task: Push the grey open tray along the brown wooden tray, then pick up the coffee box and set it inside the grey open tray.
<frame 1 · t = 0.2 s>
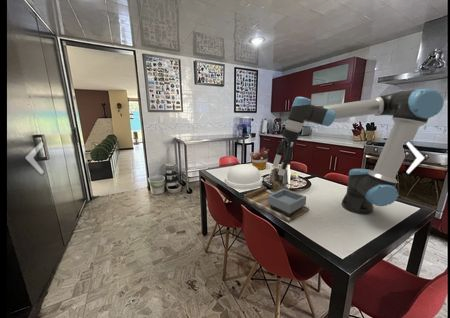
hand: (277, 170, 99), 27 cm above the table, tool tilted 15°, fingers open, 13 cm apart
bucket of meat: (259, 168, 193), on the table
coffee box: (278, 191, 138), on the table
dome cover: (243, 182, 158), on the table
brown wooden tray: (274, 204, 119), on the table
grey open tray: (286, 202, 111), point 5 cm above the table, slide at 0.0 cm
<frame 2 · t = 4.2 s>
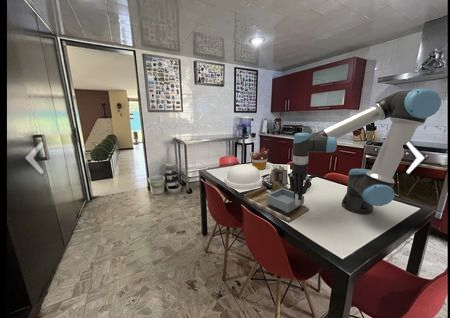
hand: (297, 204, 106), 7 cm above the table, tool pointing down, fingers closed
grey open tray: (284, 201, 112), point 5 cm above the table, slide at 1.3 cm, touching gripper
everything else where it was.
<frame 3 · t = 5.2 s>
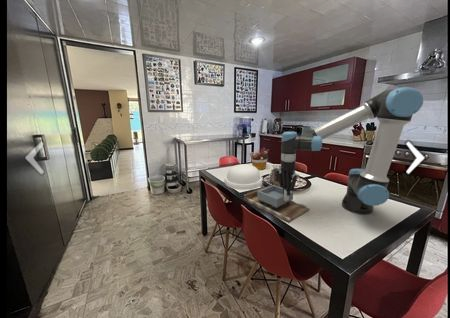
hand: (286, 199, 111), 7 cm above the table, tool pointing down, fingers closed
grey open tray: (274, 197, 118), point 5 cm above the table, slide at 8.5 cm, touching gripper
everything else where it was.
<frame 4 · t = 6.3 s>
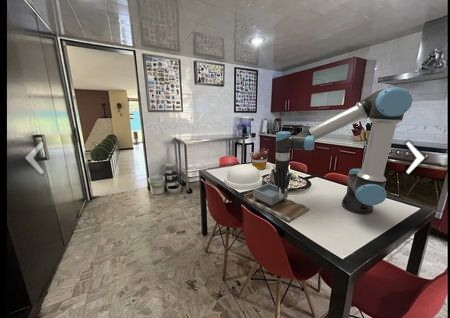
hand: (280, 197, 114), 6 cm above the table, tool pointing down, fingers closed
grey open tray: (270, 195, 121), point 5 cm above the table, slide at 12.2 cm, touching gripper
everything else where it was.
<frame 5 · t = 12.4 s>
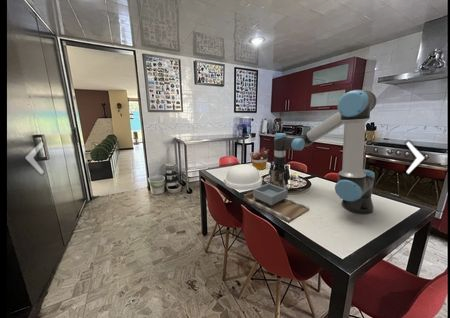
hand: (278, 186, 137), 4 cm above the table, tool pointing down, fingers closed on coffee box, 10 cm apart
coffee box: (278, 191, 138), on the table, touching gripper
grey open tray: (270, 195, 121), point 5 cm above the table, slide at 12.2 cm
everything else where it was.
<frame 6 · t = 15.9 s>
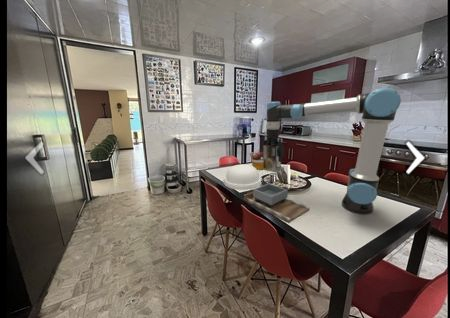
hand: (272, 164, 121), 24 cm above the table, tool pointing down, fingers closed on coffee box, 10 cm apart
coffee box: (271, 170, 122), point 20 cm above the table, touching gripper
when the fingers open (11 cm above the table, at t = 19.2 s): coffee box drops 1 cm, resting on grey open tray.
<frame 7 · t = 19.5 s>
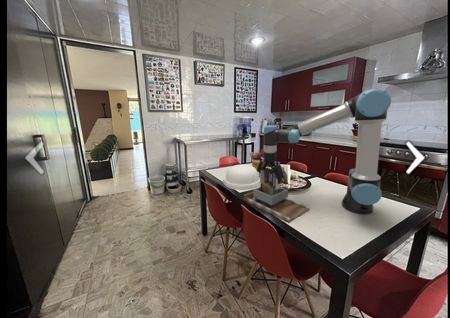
hand: (269, 185, 120), 11 cm above the table, tool pointing down, fingers open, 12 cm apart
coffee box: (269, 194, 121), point 5 cm above the table, touching grey open tray
grey open tray: (270, 195, 121), point 5 cm above the table, slide at 12.0 cm, touching coffee box
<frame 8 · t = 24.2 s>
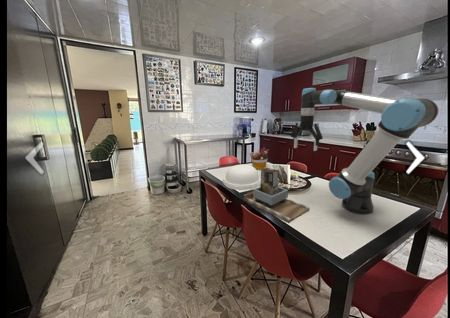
hand: (305, 149, 123), 32 cm above the table, tool pointing down, fingers open, 13 cm apart
at the end: grey open tray slide at 12.0 cm; coffee box inside the target area (0.6 cm from its centre), point 5.3 cm above the table; coffee box tilted 0° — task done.
